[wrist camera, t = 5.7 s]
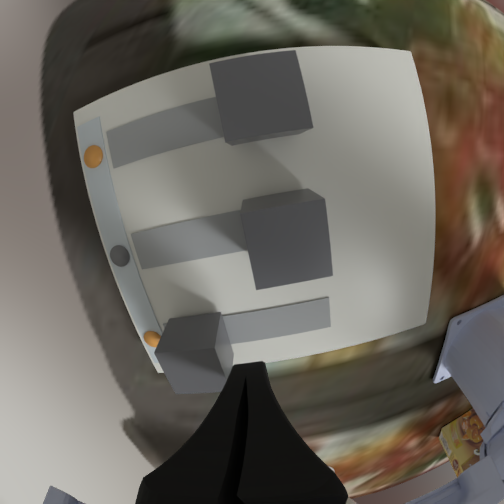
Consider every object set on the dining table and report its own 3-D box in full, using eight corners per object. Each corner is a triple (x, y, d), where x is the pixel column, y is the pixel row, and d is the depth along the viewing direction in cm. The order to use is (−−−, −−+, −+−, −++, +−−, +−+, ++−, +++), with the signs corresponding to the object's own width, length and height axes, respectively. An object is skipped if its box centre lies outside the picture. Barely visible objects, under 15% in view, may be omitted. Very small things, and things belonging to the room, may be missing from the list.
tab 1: (221, 311, 14) (214, 347, 11) (233, 353, 15) (230, 390, 12) (169, 318, 14) (153, 352, 12) (185, 358, 15) (175, 393, 13)
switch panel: (395, 59, 11) (412, 50, 9) (413, 309, 17) (426, 325, 15) (90, 114, 12) (71, 111, 11) (164, 355, 18) (157, 374, 16)
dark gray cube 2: (308, 188, 12) (324, 198, 9) (316, 249, 13) (332, 275, 10) (242, 199, 12) (240, 213, 9) (255, 260, 13) (256, 289, 10)
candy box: (437, 437, 26) (468, 509, 11) (440, 427, 24) (476, 504, 10) (481, 409, 25) (518, 472, 10) (487, 396, 23) (528, 463, 9)
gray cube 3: (285, 73, 10) (295, 50, 7) (298, 134, 11) (313, 127, 8) (219, 84, 10) (209, 63, 8) (231, 145, 11) (225, 142, 9)
